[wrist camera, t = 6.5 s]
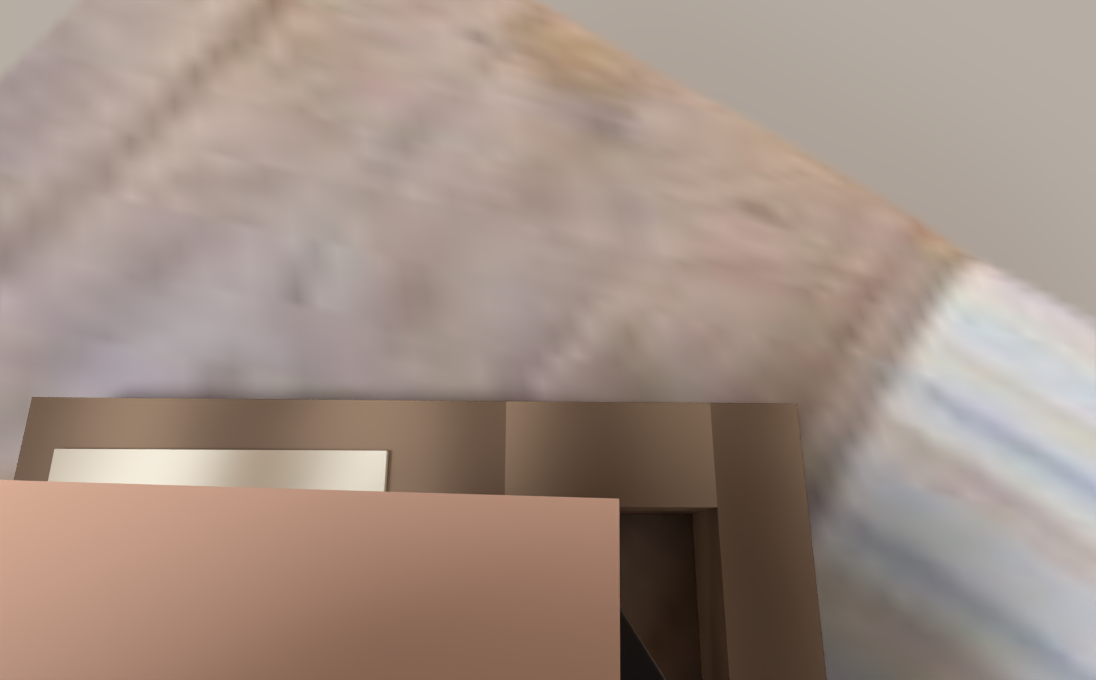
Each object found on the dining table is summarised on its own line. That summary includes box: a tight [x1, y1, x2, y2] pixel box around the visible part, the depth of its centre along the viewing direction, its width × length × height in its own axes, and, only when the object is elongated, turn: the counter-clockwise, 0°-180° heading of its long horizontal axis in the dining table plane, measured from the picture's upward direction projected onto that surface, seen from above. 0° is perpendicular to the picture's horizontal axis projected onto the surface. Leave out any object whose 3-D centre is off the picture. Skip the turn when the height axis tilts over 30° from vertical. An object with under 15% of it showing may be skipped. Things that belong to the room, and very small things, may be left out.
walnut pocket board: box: [14, 397, 827, 680], centre depth 20 cm, size 22×12×3 cm, turn 90°
